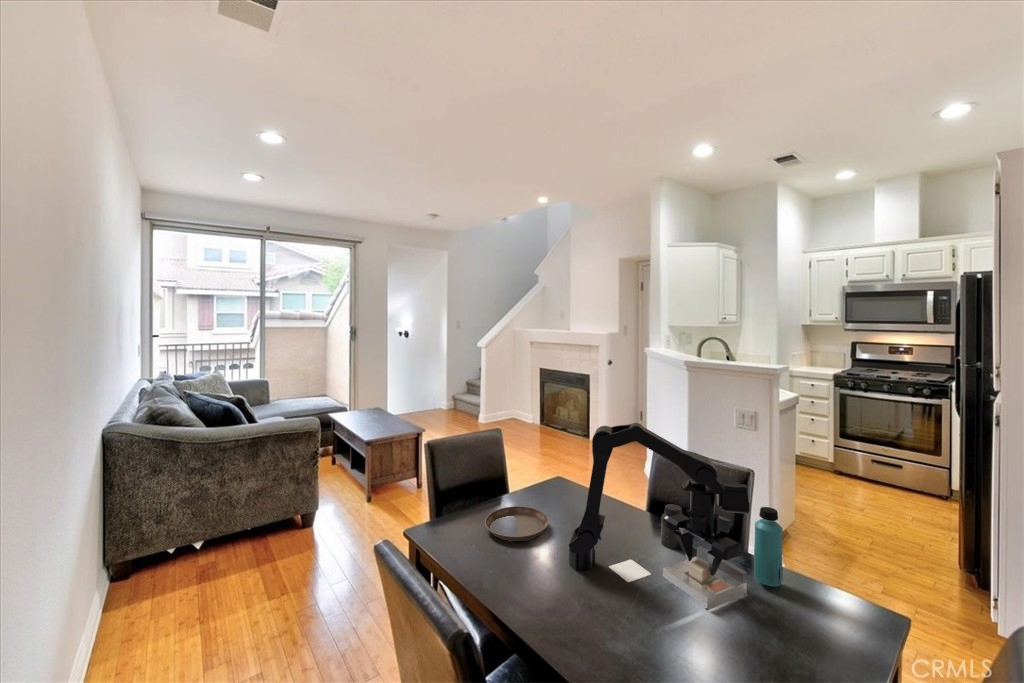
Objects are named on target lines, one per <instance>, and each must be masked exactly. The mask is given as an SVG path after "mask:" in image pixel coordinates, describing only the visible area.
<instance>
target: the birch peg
mask: <svg viewBox="0 0 1024 683" xmlns="http://www.w3.org/2000/svg"><path fill="white" fill-rule="evenodd" d="M689 577H690V578H692V579H693V580H695V581H696V582H698V583H699V584H701V585H702V586H703V585H705V584H708V583H710V582H713V576H712V575H711V573H710V569H709V564H708V563H706V562H704V561H703V560H701V559H698V560H696V561H693V562H690V563H689Z"/></svg>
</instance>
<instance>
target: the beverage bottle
mask: <svg viewBox="0 0 1024 683" xmlns="http://www.w3.org/2000/svg"><path fill="white" fill-rule="evenodd" d="M758 516H759V517H760V519H759V520H756V521H755V523H754V545H753V551H754V552H753V563H752V564H753V576H754V579H755V580H756V581H757V582H758V583H760V584H761V585H764V586H767V587H779V586H781V585H782V583H783V580H784V579H783V570H784V569H783V561H784V559H783V558H784V556H783V532H784V529H783V527H782V526H781V525H780V524H779V523H778V522H777V521H778V520H779V513H778V510H777V509H776V508H773V507H769V506H761V507H760V509H759V514H758Z"/></svg>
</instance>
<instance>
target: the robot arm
mask: <svg viewBox="0 0 1024 683" xmlns="http://www.w3.org/2000/svg"><path fill="white" fill-rule="evenodd" d="M591 442H592V443H591V448H592V460H593V462H592V469H591V475H590V482H589V486H588V487H589V488H588V493H587V500H586V506H585V510H584V513H583V515H582V518H581V521H580V524H579V525H578V527H576V528H574V530H573V532H572V534H571V535H572V536H571V538H570V540H569V544H568V547H569V553H568V554H569V556H568V558H569V559H568V560H569V564H568V565H569V567H570V568H572V569H573V571H575V572H578V571H580V572H586V571H589V570H591V569H592V568H593V566H595V565H596V549H595V546H596V545H598V542H599V541H601V540H602V538H603V533H604V524H605V519H606V515H603V514H602V515H601V505H602V499H603V493H604V486H605V481H606V480H605V479H606V474H607V468H608V464H609V461H610V458H611V456H612V455H611V454H612V452H613V450H614V449H615V448H618V447H622V446H625V445H627V444H631V443H634V442H636V443H638V444H640V445H642V446H643V447H645V448H647V449H648V450H650V451H652V452H654V453H655V454H657V455H659V456H661V457H662V458H664V459H666V460H667V461H669V462H671V463H673V464H674V465H676V466H677V467H678V468H679V469H681V470H682V471H683V473H684V474H686V476H687V477H689V478H688V479H687V480H686V481H684V482H683V483H682V488H683V491H685V492H690V495H689V496H690V498H689V500H690V501H689V509H686V513H685V514H686V515H685V514H684V513H682V514H678V515H674V516H670V517H669V518H668V519H667V528H668V529H670V530H672V531H673V534H674V535H675V536H676V538H677V540H678V541H679V543H680V545H681V547H682V549H683V550H682V551H683V553H684V556H685V558H686V560H688V561H691V560H692V558H693V552H694V551H693V549H694V539H695V537H697V538H699V539H700V540H701V541H704V542H706V543H708V544H711V548H710V549H711V550H708V552H707V556H708V563H709V569H710V573H711V575H712V576H713V575H715V574H716V571H717V569H718V567H719V565H720V563H721V561H722V559H723V560H726V561H729V560H732V559H735V558H737V557H740V556H742V553H743V550H742V549H743V548H742V544H740V543H739V542H737V541H735V540H734V539H732V538H729V537H727V536H724V537H723V538H718V537H716V536H715V535H719V534H721V532H724V533H725V534H729V531H730V529H731V526H732V525H731V524H732V520H730V519H728V518H726V517H724V516H722V515H720V514H719V513H718V512H716V511H715V510H716V505H715V504H717V506H718V507H721V510H722V512H725V513H726V512H727V513H735V514H736V513H737V514H746V515H749V514H750V510H751V508H750V507H751V506H750V505H751V503H750V502H749V494H748V487H747V485H746V484H741V483H739V484H736V483H735V484H734V483H725V482H723V481H722V479H721V477H720V476H718V472H717V470H716V468H715V465H714V463H713V461H712V460H711V458H709V457H707V456H704V455H702V454H699V453H698V452H694V451H690V450H686V449H683V448H681V447H680V446H678V445H676V444H674V443H673V442H671V441H669V440H668V439H665V438H664V437H663V436H660V435H658V434H657V433H655V432H653V431H652V430H650V429H648V428H646V427H644V426H643V424H641V423H639V422H634V423H629V424H620V425H615V426H609V425H601V426H599V427H598V428H597V429H596V430H595V432H594V434H593V437H592V441H591ZM687 515H688V516H689V517H688V516H687Z"/></svg>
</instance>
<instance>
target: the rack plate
mask: <svg viewBox="0 0 1024 683" xmlns="http://www.w3.org/2000/svg"><path fill="white" fill-rule="evenodd" d="M708 551H709V550H708V549H707V548H705V547H703V546H701V545H700V546H697V547H696V556H692V560H691V561H688V560H687V559H685V560H682V561H679V562H677V563H673V564H671V565H667V566H665V567H663V568H662V577H663V578H665V579H666V580H667V581H669V582H670V583H671V584H674V586H676V587H677V588H679V589H680V590H681V591H683V592H685V593H686V594H688V595H689V596H691V598H693V599H695V600H696V601H697V602H698V603H701V605H703V606H704V607H705V608H704V609H705V610H706V611H710V610H713V609H715V608H717V607H719V606H721V605H724V604H726V603H728V602H730V601H733V600H735V599H737V598H740V597H743V596H744V594H745V595H746V594H747V592H748V591H747V590H748V589H747V588H748V572H747V571H746V570H744V569H742V568H740V567H738V566H737V565H735V564H733V563H731V561H729V560H723V559H722V561H721V563H720V565H719V567H718V569H717V571H716V574H715V575H713V582H710V583H708V584H705V585H703V586H702V585H701V584H699V583H698V582H696V581H695V580H693V579H692V578H690V577H689V563H690V562H693V561H696V560H698V559H701V560H703V561H704V562H706V563H708V556H707V552H708ZM708 564H709V563H708Z"/></svg>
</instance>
